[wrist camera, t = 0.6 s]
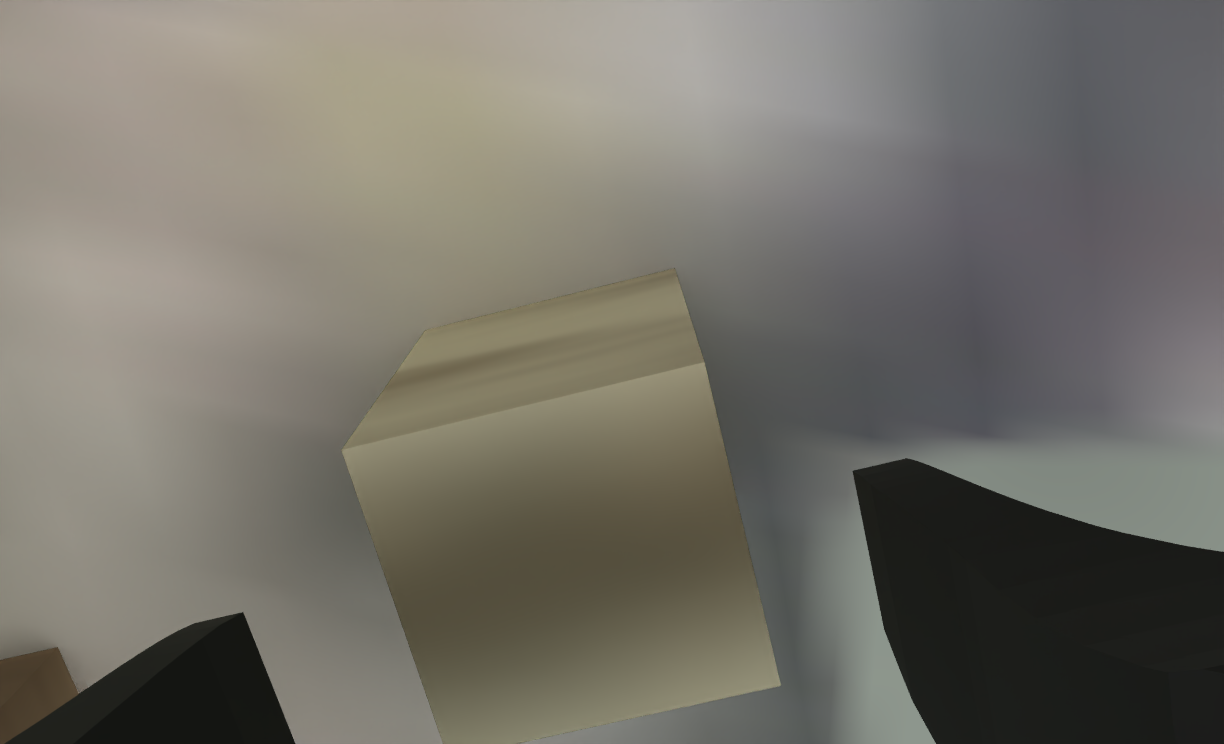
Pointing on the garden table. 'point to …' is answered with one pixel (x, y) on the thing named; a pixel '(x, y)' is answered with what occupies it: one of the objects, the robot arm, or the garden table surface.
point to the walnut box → (32, 690)
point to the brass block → (562, 518)
